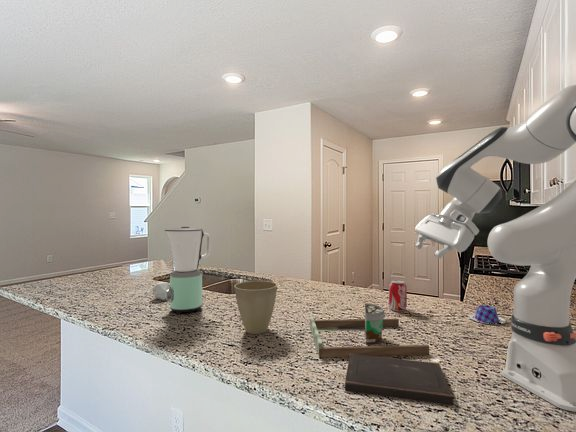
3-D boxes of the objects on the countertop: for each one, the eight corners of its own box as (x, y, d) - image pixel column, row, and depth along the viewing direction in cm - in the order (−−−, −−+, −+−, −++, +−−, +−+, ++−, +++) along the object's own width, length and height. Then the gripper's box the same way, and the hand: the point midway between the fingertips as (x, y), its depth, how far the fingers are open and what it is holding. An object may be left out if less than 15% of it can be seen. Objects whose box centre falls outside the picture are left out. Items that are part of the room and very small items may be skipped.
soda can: (395, 313, 132) (395, 283, 131) (385, 308, 138) (385, 280, 138) (410, 311, 134) (410, 282, 133) (399, 306, 140) (400, 279, 140)
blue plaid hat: (512, 327, 116) (512, 312, 116) (475, 325, 119) (475, 310, 119) (497, 316, 128) (497, 303, 128) (464, 314, 130) (464, 301, 130)
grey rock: (156, 297, 159) (146, 284, 153) (172, 287, 162) (163, 274, 156) (160, 307, 153) (150, 294, 147) (177, 296, 156) (168, 283, 150)
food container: (386, 348, 99) (387, 315, 98) (366, 346, 100) (366, 314, 100) (383, 332, 111) (383, 303, 110) (364, 331, 112) (364, 302, 112)
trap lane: (429, 355, 94) (429, 341, 94) (319, 358, 92) (318, 343, 92) (397, 326, 118) (397, 314, 118) (309, 327, 116) (309, 315, 116)
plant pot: (285, 327, 116) (285, 283, 116) (261, 342, 103) (261, 292, 103) (251, 320, 124) (251, 278, 123) (225, 333, 111) (225, 286, 111)
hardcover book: (349, 361, 91) (349, 353, 91) (439, 372, 85) (439, 363, 85) (344, 393, 75) (344, 383, 75) (453, 408, 69) (453, 397, 69)
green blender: (168, 317, 127) (168, 228, 126) (162, 309, 138) (161, 226, 138) (216, 310, 137) (215, 226, 136) (206, 302, 148) (205, 225, 147)
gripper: (425, 207, 114) (401, 237, 114) (473, 220, 95) (443, 256, 95) (435, 218, 117) (411, 247, 116) (484, 233, 98) (455, 268, 97)
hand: (426, 252), depth 106 cm, fingers open, 8 cm apart
